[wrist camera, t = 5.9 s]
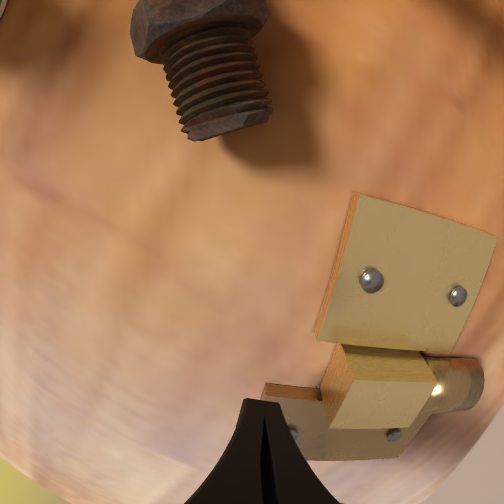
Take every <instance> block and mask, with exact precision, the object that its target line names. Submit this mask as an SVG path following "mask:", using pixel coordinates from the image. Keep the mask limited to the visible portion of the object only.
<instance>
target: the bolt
mask: <svg viewBox="0 0 504 504" xmlns="http://www.w3.org/2000/svg"><path fill="white" fill-rule="evenodd" d="M269 15H270V13H269V10H268V7H267V5H266V2H265V0H139V1H138V2H137V4H136V6H135V8H134V9H133V14H132V19H131V27H130V35H131V39H132V43H133V47H134V51H135V55H136V56H137V57H140V58H142V59H145V60H147V61H149V62H151V63H156V64H163V65H164V69H163V70H164V71H165V72H166V74H167V75H166V79H167V81H170V83H169V85H168V87H169V88H170V89H172V90H173V92H172V93H171V96H172V97H173V98H176V100H175V101H174V103H173V104H174V105H175V106H176V107H179V108H178V110H177V111H176V114H177V115H180V116H182V117H181V119H180V120H179V123H180V124H183V125H184V126H183V128H182V129H181V132H183V133H187V134H188V139H189V140H192V141H204V140H207V139H210V138H213V137H216V136H219V135H222V134H226V133H229V132H232V131H235V130H239V129H242V128H245V127H249V126H253V125H257V124H261V123H265V122H267V121H268V119H269V116H270V115H271V113H272V112H273V111H274V110H273V109H271V108H269V107H267V106H268V105H269V104H270V102H271V100H269V99H267V98H265V96H266V95H267V94H268V93H269V92H267V91H266V90H264V89H262V88H263V87H264V86H265V85H266V83H265V82H263V81H261V80H260V79H261V77H262V76H263V74H262V73H260V72H258V70H259V68H260V66H261V65H259V64H257V63H255V61H256V60H257V59H258V58H257V55H254V54H253V53H254V51H255V48H254V47H252V46H251V44H252V43H253V42H252V39H251V38H253V37H254V36H255V35H256V34H257V33H258V32H260V31H261V29H262V27H263V26H264V24H265V22H266V20H267V19H268V17H269Z"/></svg>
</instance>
